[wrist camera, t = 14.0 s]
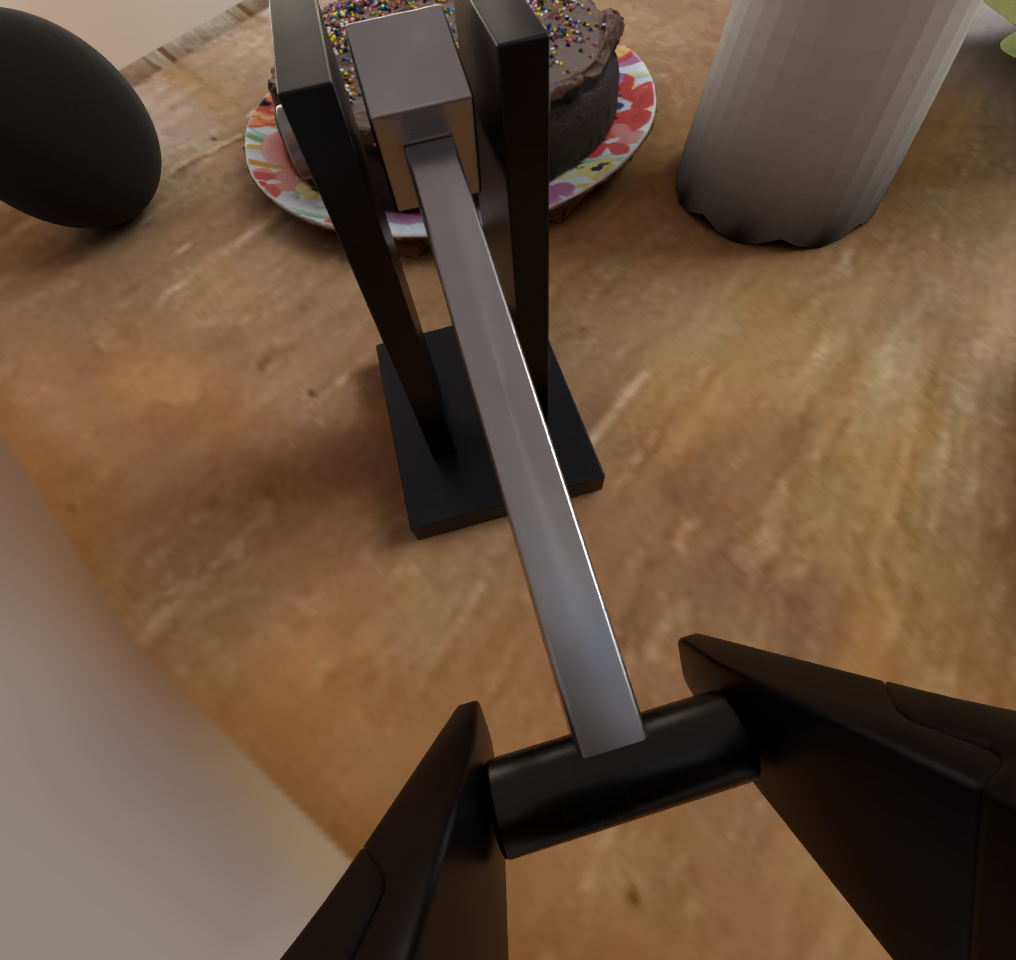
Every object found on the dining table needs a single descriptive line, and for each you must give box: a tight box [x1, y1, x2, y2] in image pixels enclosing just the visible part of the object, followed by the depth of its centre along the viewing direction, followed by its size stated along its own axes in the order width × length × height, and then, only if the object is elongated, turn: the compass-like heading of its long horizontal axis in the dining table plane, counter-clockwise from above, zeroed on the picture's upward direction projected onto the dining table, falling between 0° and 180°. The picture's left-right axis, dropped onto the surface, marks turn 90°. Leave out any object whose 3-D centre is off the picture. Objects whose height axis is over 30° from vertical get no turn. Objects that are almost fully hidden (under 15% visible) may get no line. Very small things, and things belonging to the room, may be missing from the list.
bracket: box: [269, 0, 605, 540], centre depth 16 cm, size 10×8×14 cm
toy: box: [676, 0, 984, 248], centre depth 22 cm, size 11×11×15 cm
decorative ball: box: [0, 7, 161, 228], centre depth 27 cm, size 10×10×10 cm
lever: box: [345, 4, 761, 860], centre depth 9 cm, size 16×4×2 cm, turn 15°
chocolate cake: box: [243, 0, 658, 259], centre depth 31 cm, size 28×28×7 cm
